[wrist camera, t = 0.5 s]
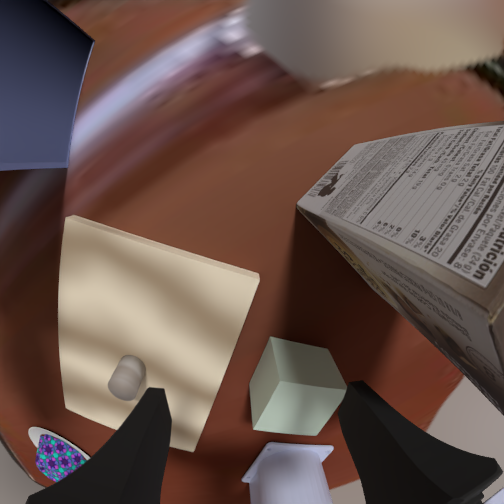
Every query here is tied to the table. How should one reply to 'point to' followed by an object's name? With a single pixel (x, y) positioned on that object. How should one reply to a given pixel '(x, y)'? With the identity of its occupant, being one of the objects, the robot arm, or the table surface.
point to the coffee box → (428, 236)
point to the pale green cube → (294, 388)
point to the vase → (39, 83)
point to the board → (145, 325)
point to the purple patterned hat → (55, 454)
